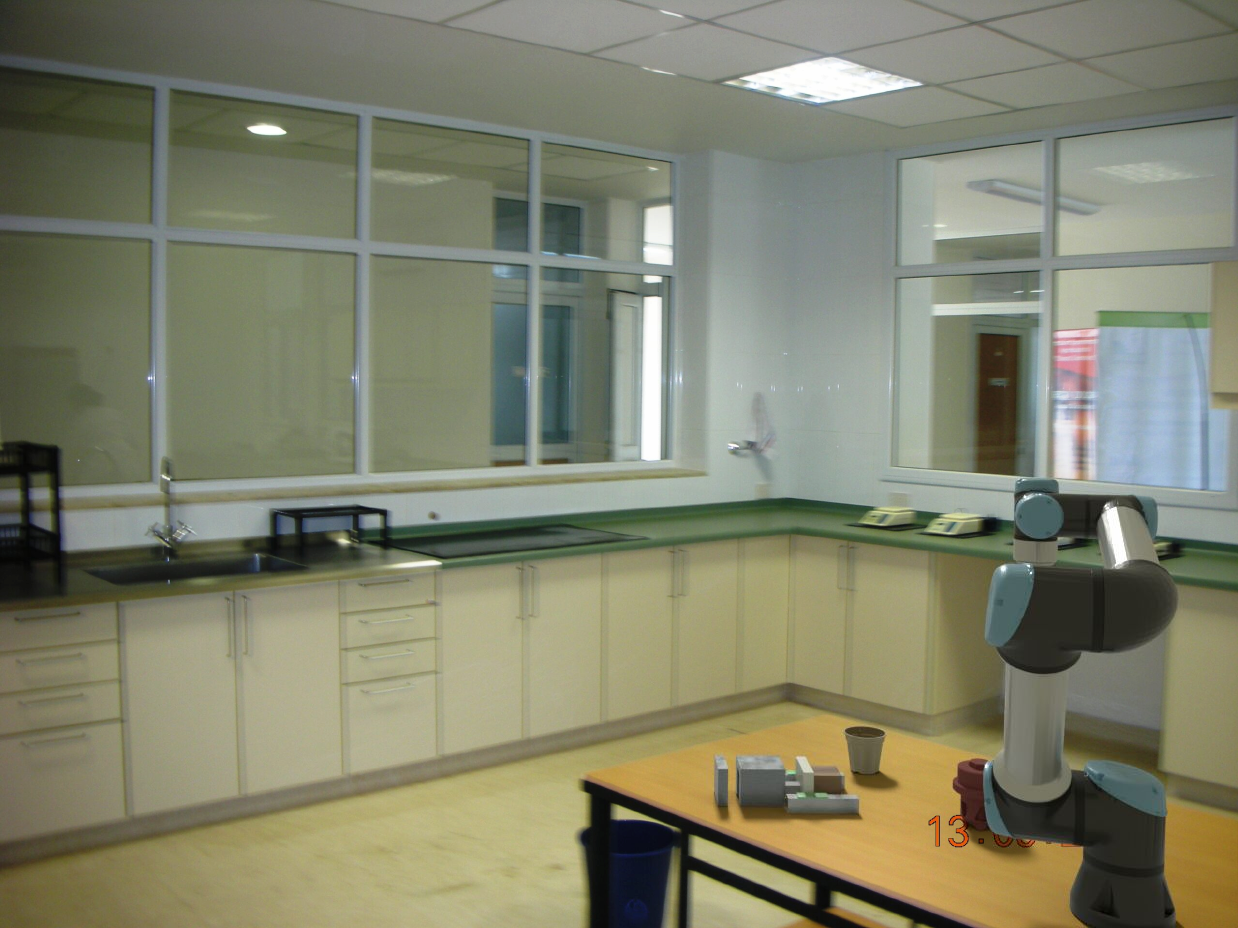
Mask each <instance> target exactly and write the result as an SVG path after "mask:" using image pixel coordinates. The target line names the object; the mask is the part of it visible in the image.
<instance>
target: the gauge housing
mask: <svg viewBox="0 0 1238 928" xmlns="http://www.w3.org/2000/svg"><path fill="white" fill-rule="evenodd" d="M713 759H714V761H713V762H714V764H713V765H714V770H713V771H714V773H713V781H714V782H713V792H714V796H715V801H716V805H717V807H728V806H729V804H728V803H729V767H728V763H727V760H726V757H725V755H723V754H715V755H714V758H713ZM839 772H840V774H841V775H842V788H841V791H842V790H843V791H844V790H845V789H846V787H845V785H846V784H845V783H846V775H845V774H844V772H843V771H839ZM785 781H786V782H795V769H794V770H793V769H786V767H785V765H784V763H783V760H782V759H781V757H780V755H771V754H770V755H768V754H767V755H758V754H757V755H756V754H755V755H753V754H751V755H750V754H749V755H745V754H744V755H742V754H741V755H739V754H736V755H735V792H736V793H735V794H736V796H738V804H739V806H740V807H767V808H768V807H773V808H774V807H777V808H778V807H779V808H780V807H785V810H786V812H787V814H811V815H812V814H817V815H820V814H821V815H823V814H828V815H830V814H831V815H832V814H835V815H840V814H844V815H845V814H846V815H848V814H850V815H851V814H852V815H853V814H854V815H855V814H856V815H858V814H859V813H860V798H859V796H858V795H857V794H854V793H853V794H843V793H841V794H827V793H796V794H786V797H785Z"/></svg>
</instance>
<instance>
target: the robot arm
mask: <svg viewBox="0 0 1238 928" xmlns="http://www.w3.org/2000/svg"><path fill="white" fill-rule="evenodd" d="M1014 485H1015V486H1014V492H1013V498H1014V500H1013V501H1014V504H1013V505H1014V506H1013V548H1012V549H1013V550H1012V552H1013V554H1012V555H1013V556H1012V558H1013V560H1014V561H1016V562H1013V563H1004V564H1002V565H1000V566H998V567H997V568H996V569H995V570H994V571H993V574H992V578H991V581H990V586H989V592H988V598H987V601H988V602H987V608H986V612H985V613H986V614H985V623H984V624H985V626H984V639H985V642H986V643H987V644H988V645H992V646H993V647H995V650H996V652H997V654H998V656H999V658H1000V659H1001V660H1002V661H1003V662H1004V663H1005V671H1004V672H1005V673H1004V674H1005V680H1004V716H1003V717H1004V719H1003V725H1004V726H1003V748H1002V749H1000V750H999V752H998V753H997V754H996V755H995V758H994V759H992V760H988V762H986V763H985V765H984V774H983V788H984V799H985V812H986V818H987V822H988V828H989V829H990V830H991V832H993V833H994V834H996V835H999V836H1004V837H1007V838H1008V837H1010V838H1012V839H1014V840H1015V839H1016V840H1018V839H1019V840H1020V839H1021V840H1028V841H1036V842H1045V843H1051V844H1060V845H1067V846H1069V845H1070V846H1076V847H1082V861H1081V864H1080V866H1079V869H1078V871H1077V873H1076V875H1075V878H1074V881H1073V884H1072V886H1071V889H1070V892H1069V910H1070V911H1071V913H1072V914H1073V915H1074V916H1075V917H1076V918H1077V919H1079V920H1080V921H1082V922H1083V923H1085V924H1086V925H1088V926H1091V927H1093V928H1176V919H1177V916H1176V915H1177V913H1176V907H1175V904H1174V901H1173V898H1172V894H1171V892H1170V889H1169V885H1168V881H1167V879H1166V876H1165V861H1166V860H1165V858H1166V825H1167V823H1166V820H1167V816H1168V811H1169V810H1168V808H1167V794H1166V793H1167V792H1166V789H1165V788H1166V787H1165V786H1164V784H1163V783H1162V781H1160V779H1158V778H1157V777H1156V776H1155V775H1153V774H1151V773H1150V772H1147V771H1145V770H1143V769H1141V768H1140V767H1139V768H1138V767H1136V766H1132V765H1129V764H1126V763H1124V762H1123V763H1122V762H1118V761H1114V760H1106V759H1105V760H1104V759H1099V760H1096V759H1092V760H1089V761H1087V762H1086V763H1085V766H1083V770H1080V769H1074V768H1073V769H1072V768H1071V767H1070V764H1069V762H1068V761H1067V760H1066V759H1065V757H1064V756H1063V755H1064V753H1063V751H1064V741H1065V740H1064V738H1065V725H1066V724H1065V723H1066V713H1067V698H1068V697H1067V696H1068V686H1069V685H1068V683H1069V671H1070V670H1071V669H1072V668H1074V666H1076V665H1077V664H1078V662H1079V661H1080V659H1081V658H1082V653H1089V654H1090V653H1092V654H1093V653H1094V654H1107V655H1109V654H1110V655H1112V654H1113V655H1114V654H1120V653H1127V652H1131V651H1134V650H1137V649H1139V648H1141V647H1143V646H1145V645H1147V644H1149V643H1151V642H1152V641H1155V639H1157V638H1158V637H1159V636H1160V635H1161V634H1163V632H1164V631H1165V630H1166V629H1167V628H1168V627H1169V626H1170V624H1171V623H1172V621H1173V620H1174V618H1175V615H1176V613H1177V611H1178V605H1179V594H1178V589H1177V587H1176V583H1175V580H1174V578H1173V576H1172V574H1171V573H1170V572H1169V571H1168V570H1167V568H1166V567H1164V566H1163V565H1161V563H1160V560H1159V557H1158V554H1157V552H1156V548H1155V546H1154V545H1155V544H1154V542H1153V539H1155V538H1156V537H1157V533H1158V532H1157V531H1158V525H1159V524H1158V523H1159V512H1158V503H1157V501H1156V499H1154V498H1153V497H1151V496H1145V495H1135V494H1091V493H1090V494H1086V493H1081V494H1080V493H1060V486H1059V485H1060V483H1059V482H1058V480H1056V479H1055V478H1047V477H1020V478H1018V479H1016V480H1015V484H1014ZM1058 538H1069V539H1093V540H1098V544H1099V550H1100V555H1101V559H1102V560H1101V561H1102V565H1103V567H1087V566H1086V567H1085V566H1064V565H1063V566H1061V565H1059V566H1058V565H1056V564H1055V563H1056V562H1057V561H1058V556H1059V555H1058V551H1059V550H1058V547H1059V543H1058V542H1059V539H1058Z"/></svg>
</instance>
